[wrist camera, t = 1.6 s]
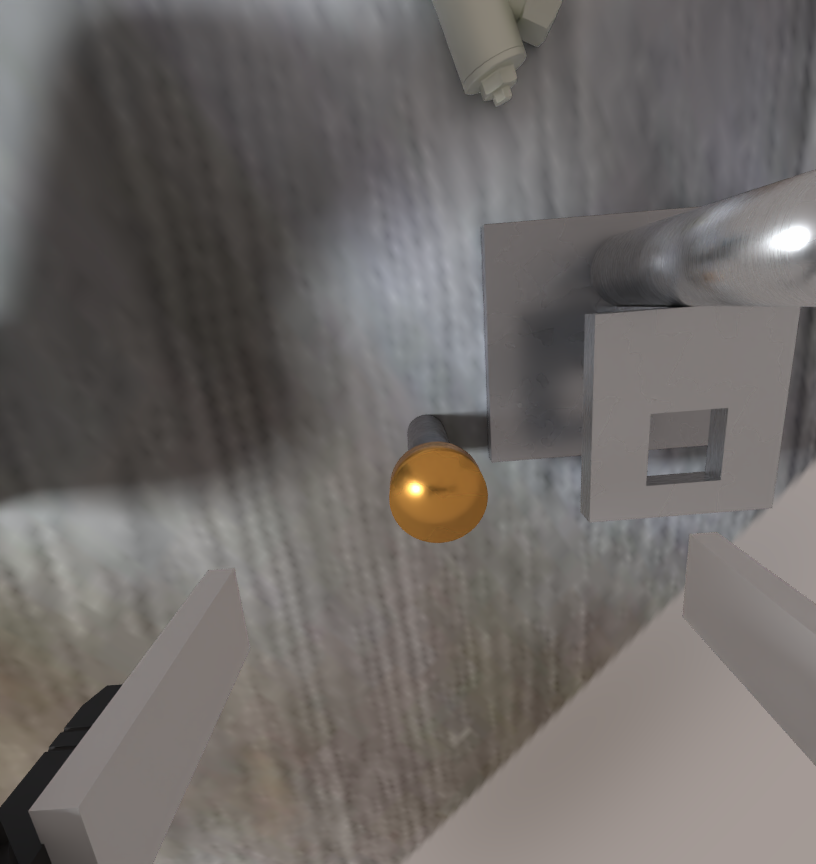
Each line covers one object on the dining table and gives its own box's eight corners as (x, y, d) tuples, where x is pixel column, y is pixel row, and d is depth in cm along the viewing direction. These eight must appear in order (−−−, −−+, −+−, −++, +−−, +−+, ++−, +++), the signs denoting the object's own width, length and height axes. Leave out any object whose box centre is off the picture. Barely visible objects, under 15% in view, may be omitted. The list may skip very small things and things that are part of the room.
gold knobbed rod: (396, 466, 30) (393, 546, 20) (390, 403, 29) (384, 455, 19) (459, 461, 30) (489, 539, 20) (456, 398, 29) (485, 447, 19)
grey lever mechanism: (489, 471, 31) (567, 621, 16) (481, 227, 27) (575, 135, 12) (838, 444, 30) (1233, 570, 16) (882, 193, 26) (1462, 60, 12)
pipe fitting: (509, 125, 26) (563, -19, 24) (524, 101, 22) (590, -71, 20) (374, 66, 25) (417, -88, 23) (366, 32, 21) (418, -156, 19)
